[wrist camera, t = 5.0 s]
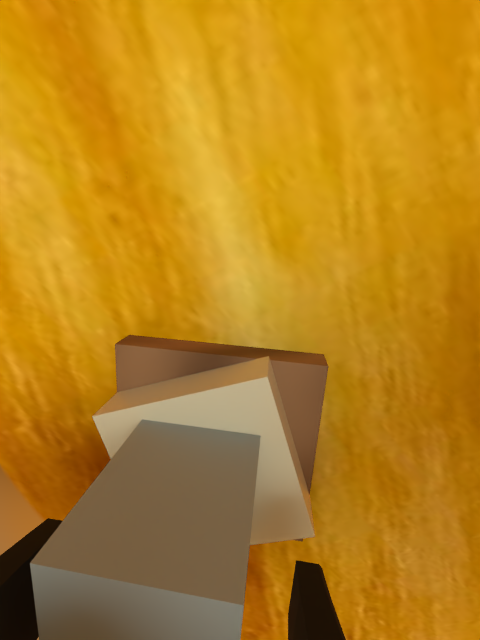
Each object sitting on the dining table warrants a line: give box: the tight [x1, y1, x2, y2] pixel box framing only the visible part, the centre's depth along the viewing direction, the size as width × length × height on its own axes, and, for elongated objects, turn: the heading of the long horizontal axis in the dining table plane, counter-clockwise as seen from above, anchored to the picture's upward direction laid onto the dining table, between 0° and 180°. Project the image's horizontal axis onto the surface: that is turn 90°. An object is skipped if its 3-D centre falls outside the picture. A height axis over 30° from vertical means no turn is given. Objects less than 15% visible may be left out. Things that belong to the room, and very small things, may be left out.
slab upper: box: [92, 356, 315, 545], centre depth 13 cm, size 7×7×2 cm
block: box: [30, 419, 261, 640], centre depth 9 cm, size 4×4×6 cm
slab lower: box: [115, 335, 328, 541], centre depth 15 cm, size 9×9×2 cm
